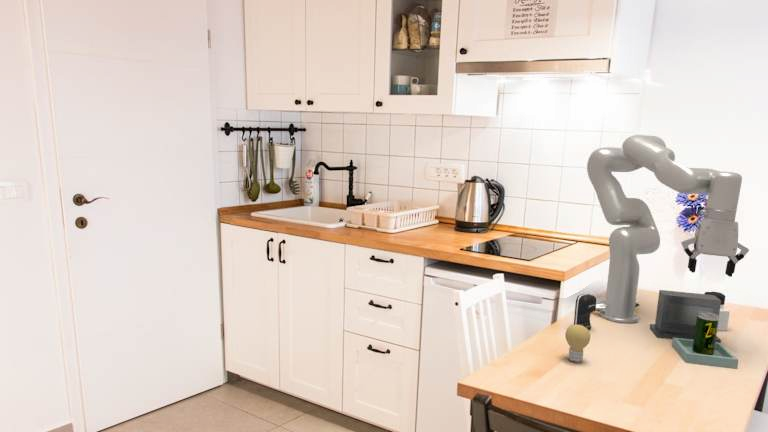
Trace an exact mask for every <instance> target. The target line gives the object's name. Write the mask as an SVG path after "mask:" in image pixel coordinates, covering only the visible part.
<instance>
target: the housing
mask: <svg viewBox="0 0 768 432" xmlns="http://www.w3.org/2000/svg"><path fill="white" fill-rule="evenodd" d="M720 305H721V300H720V299H718V298H717V297H716V296H714V295H707V294H704V293H697V292H696V293H695V292H688V291H687V292H685V291H677V290H676V291H674V290H665V289H659V292H658V297H657V306H656V313H655V319H654V320H655V322H654V323H650V325H649V329H650V331H652V333H653V334H654V336H655V337H656V338H658V339H664V338H665V340H673V338H682V339H691V340H694V334H695V327H696V320H697V315H698V312H701V311H704V312H710V313H714V314H717V315H718V319H719V312H720ZM715 342H718V343H721V344H722V340H721V338H719V337H718V336H717V335H716V341H715Z"/></svg>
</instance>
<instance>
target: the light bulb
mask: <svg viewBox="0 0 768 432" xmlns="http://www.w3.org/2000/svg"><path fill="white" fill-rule="evenodd" d="M565 340H566V343H567V344H568V346H569V348H568V359H569V360H570V361H571V362H574V363H580V362H582V361H583V358H584V349H585V348H586V347H588V345H589V344H590V341H591V333H590V331H589V330H588V329H587V328H586V327H584V326H582V325H574V324H572V325H570V326H568V327H567V328H566V330H565Z"/></svg>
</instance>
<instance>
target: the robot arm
mask: <svg viewBox="0 0 768 432" xmlns="http://www.w3.org/2000/svg"><path fill="white" fill-rule="evenodd" d="M589 155H590V156H589V157H588V160H587V165H586V172H587V175H588V178H589V180H590V183H591V185H592V187H593V189H594V191H595V193H596V196H597V199H598V203H599V205H600V208H601V211H602V213H603V216H604V219H605V220H606V222H607V223H608V224H609V225H612V226H621V227H617V228H615V229H614V230H613V231H612V232H611V233H610V234H609V238H608V247H609V266H608V276H607V282H606V293H605V300H602V302H600V303H597V302H596V310H595V311H599V313H598V314H599V315H600V317H602V318H603V319H606V320H608V321H612V322H616V323H624V324H625V323H626V324H633V323H637V322H639V320H640V317H639V316H638V314H636V313H635V312H636V302H637V294H638V285H639V278H640V277H639V276H640V264H639V260H638V258H637V255H648V254H652V253H655V252H656V251H657V250H658V249H659V248H660V246H661V235H660V232H659V230H658V227H657V225H656V222H655V219H654V217H653V215H652V211H651V209H650V207H649V206H648V204H647V203H646V202H645V201H643V200H642V199H640V198H636V197H627V196H626V194H625V192H624V190H623V188H622V184H621V183H620V182H619V180H618V179H617V178H616V176H614V175H613V173H629V172H634V171H637V170H639V169H642V168H645V169H647V170H649V171H650V172H652V173H653V175H654V176H655V178H656V179H657V181H659V182H660V183H661V184H662V185H664V186H666V187H668V188H669V189H672V190H674V191H675V192H678V193H681V194H684V195H685V194H686V195H687V194H688V195H691V194H692V195H693V194H694V195H697V194H698V195H707V200H706V205H705V208H704V209H700V210H699V215H703V217H701V219H700V221H699V223H698V226H697V229H696V233H695V236H694V237H690V238H688V239H686V240H683V241H681V242H680V243H681V246H682V248H683V251H684V252H685V253H686V255H687V256H688V264H687V268H688V270H689V271H690V272H691V273H695V272H696V270H697V269H696V268H697V262H698V260H697V257H698V256H699V255H701V254H702V255H707V256H709V255H710V256H717V257H725V258H728V259H729V260H728V261H727V262H726V266H725V275H726V276H728V277H729V278H730V277H733V274H735V271H736V266H737V265H736V264H738V263H739V262H740V261H741V260H742V259H744V258H745V256H746V255H747V254H748V253H749V251H750V249H749V248H748V247H746V246H744V244H741V243H739V222H738V221H735V220H736V215H737V211H738V206H739V204H738V203H739V199H740V195H741V194H740V193H741V187H742V181H743V177H742V175H741V174H740V173H737V172H733V171H730V172H729V171H720V170H716V169H713V168H705V167H703V168H702V167H699V168H698V167H688V166H687V167H686V166H683V165H682V164H680V163H678V162H676V160H675V159H676V155H675V152H674V151H673V150H672V149H670V148H668V147H667V146H666V143H665V141H664V139H662V138H661V137H659V136H655V135H645V134H634V135H631V136H629V137H627V138H626V139H624V141H623V143H622V145H621V147H613V146H612V147H611V146H609V147H608V146H607V147H600V148H597V149H594V150H593V151H592V152H591V153H590V154H589ZM612 172H613V173H612ZM692 244H693V249H692V250H691V249H690V248H689V245H692ZM738 249H739V250H740V252H739V253H737V251H738Z"/></svg>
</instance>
